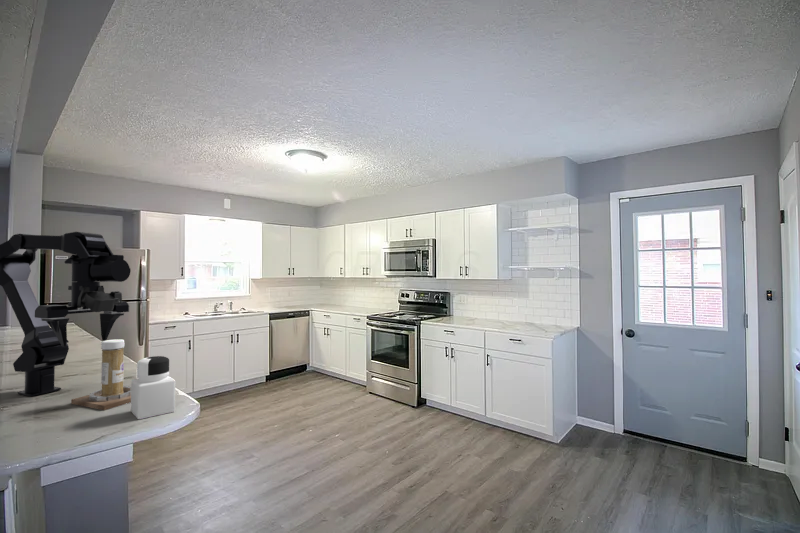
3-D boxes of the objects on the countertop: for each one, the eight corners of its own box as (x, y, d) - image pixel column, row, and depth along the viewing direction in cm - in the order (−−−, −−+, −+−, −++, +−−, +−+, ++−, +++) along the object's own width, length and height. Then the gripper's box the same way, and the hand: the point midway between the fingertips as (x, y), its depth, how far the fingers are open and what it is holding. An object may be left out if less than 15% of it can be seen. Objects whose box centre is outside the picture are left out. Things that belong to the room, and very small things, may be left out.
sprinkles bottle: (123, 396, 96) (124, 340, 96) (99, 399, 93) (100, 342, 93) (123, 391, 99) (124, 338, 100) (101, 394, 97) (102, 339, 97)
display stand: (71, 403, 93) (71, 395, 93) (119, 391, 103) (119, 383, 104) (104, 410, 89) (104, 401, 89) (151, 396, 99) (151, 388, 99)
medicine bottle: (166, 404, 93) (167, 353, 93) (175, 411, 88) (176, 357, 88) (130, 411, 88) (131, 357, 88) (137, 420, 83) (138, 362, 83)
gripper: (62, 282, 89) (61, 352, 89) (143, 281, 106) (142, 339, 106) (34, 282, 93) (32, 348, 93) (116, 281, 111) (115, 337, 110)
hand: (85, 343), depth 101 cm, fingers open, 9 cm apart
